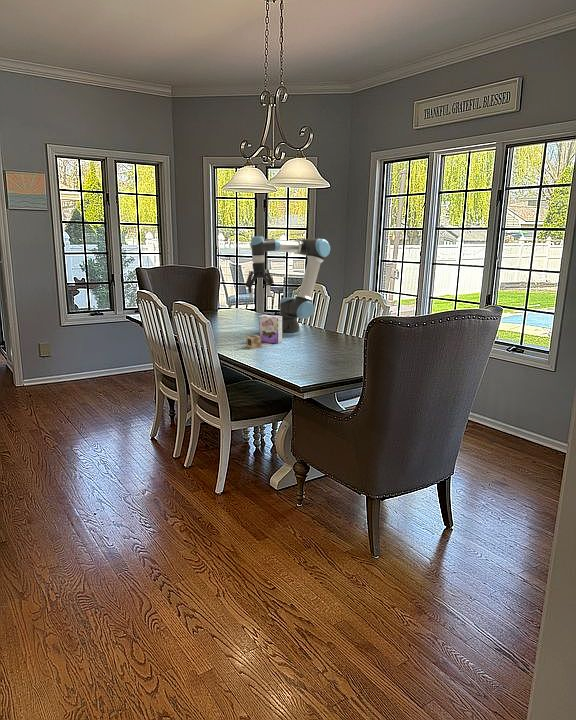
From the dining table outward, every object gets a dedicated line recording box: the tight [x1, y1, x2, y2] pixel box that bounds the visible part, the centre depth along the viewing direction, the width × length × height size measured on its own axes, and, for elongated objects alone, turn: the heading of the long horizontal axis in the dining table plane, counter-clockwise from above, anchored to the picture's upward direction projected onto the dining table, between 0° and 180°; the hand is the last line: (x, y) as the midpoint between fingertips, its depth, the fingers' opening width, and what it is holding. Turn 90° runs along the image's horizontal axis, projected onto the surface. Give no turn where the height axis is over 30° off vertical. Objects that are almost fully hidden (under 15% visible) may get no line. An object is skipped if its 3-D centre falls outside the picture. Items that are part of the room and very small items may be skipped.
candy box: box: [258, 314, 283, 345], centre depth 329 cm, size 14×6×16 cm, turn 62°
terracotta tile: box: [245, 345, 263, 350], centre depth 316 cm, size 7×7×1 cm
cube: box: [246, 334, 262, 349], centre depth 316 cm, size 6×6×6 cm
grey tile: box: [261, 342, 273, 348], centre depth 321 cm, size 7×7×1 cm
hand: (260, 296), depth 330 cm, fingers open, 13 cm apart
